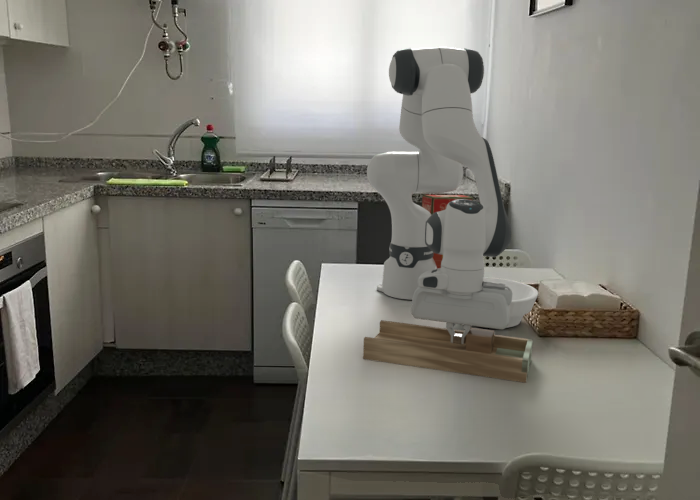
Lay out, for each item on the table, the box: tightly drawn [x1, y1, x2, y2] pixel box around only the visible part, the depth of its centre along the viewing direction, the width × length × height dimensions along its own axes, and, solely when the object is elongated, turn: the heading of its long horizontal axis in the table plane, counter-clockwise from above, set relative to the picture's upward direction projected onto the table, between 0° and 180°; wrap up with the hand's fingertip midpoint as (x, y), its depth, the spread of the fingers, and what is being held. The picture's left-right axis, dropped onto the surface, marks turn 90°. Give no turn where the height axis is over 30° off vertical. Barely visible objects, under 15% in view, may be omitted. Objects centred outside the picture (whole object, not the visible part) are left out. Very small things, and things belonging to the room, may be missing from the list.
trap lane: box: [362, 319, 534, 383], centre depth 147 cm, size 13×33×4 cm, turn 72°
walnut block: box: [466, 327, 496, 354], centre depth 147 cm, size 5×5×4 cm
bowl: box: [483, 276, 539, 329], centre depth 173 cm, size 22×22×8 cm
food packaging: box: [421, 194, 474, 269], centre depth 210 cm, size 13×9×25 cm
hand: (457, 343), depth 148 cm, fingers closed
